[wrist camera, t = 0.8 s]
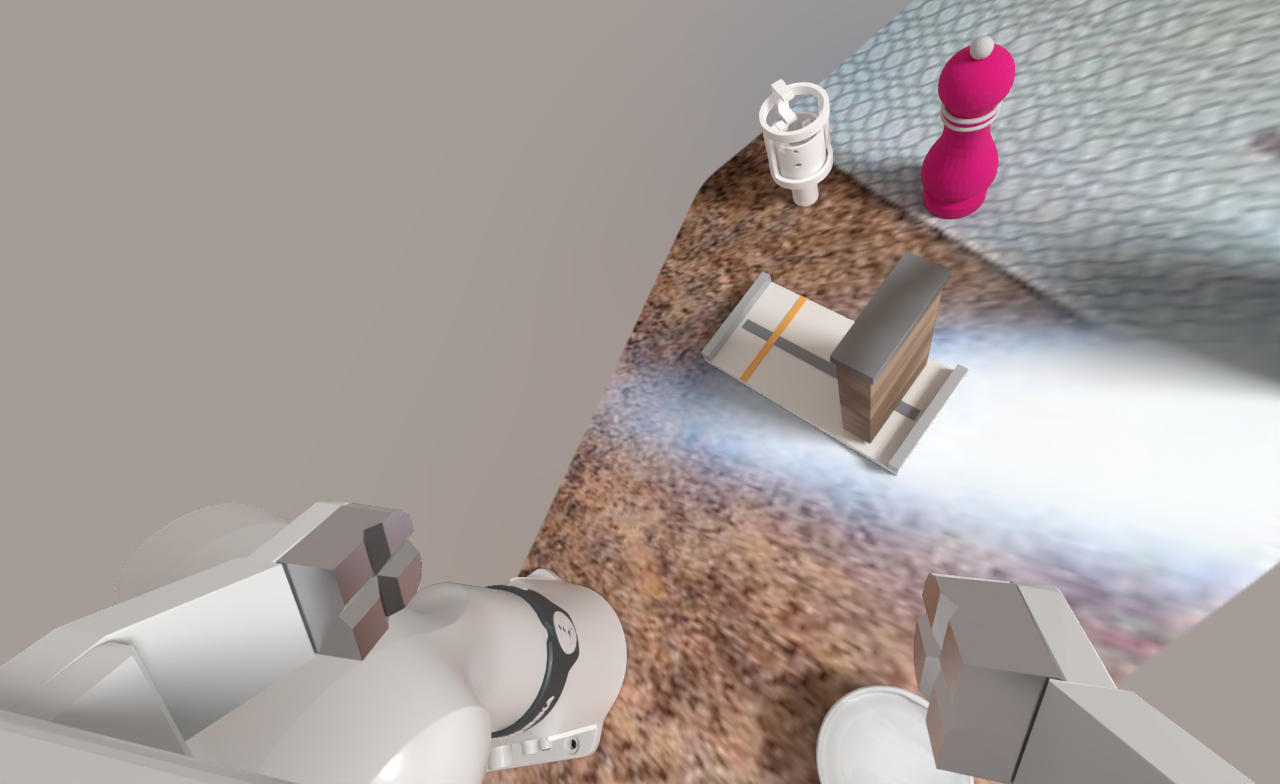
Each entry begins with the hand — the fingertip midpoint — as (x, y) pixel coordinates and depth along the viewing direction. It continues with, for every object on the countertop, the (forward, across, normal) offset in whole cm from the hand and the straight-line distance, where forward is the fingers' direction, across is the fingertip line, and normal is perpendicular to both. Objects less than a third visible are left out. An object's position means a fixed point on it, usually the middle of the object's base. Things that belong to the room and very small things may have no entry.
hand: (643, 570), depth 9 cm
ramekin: (+29, +13, -43) cm, 54 cm away
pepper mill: (+69, +20, -2) cm, 72 cm away
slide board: (+55, +7, -19) cm, 59 cm away
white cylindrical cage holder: (+72, +4, -3) cm, 73 cm away
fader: (+51, +12, -19) cm, 56 cm away
